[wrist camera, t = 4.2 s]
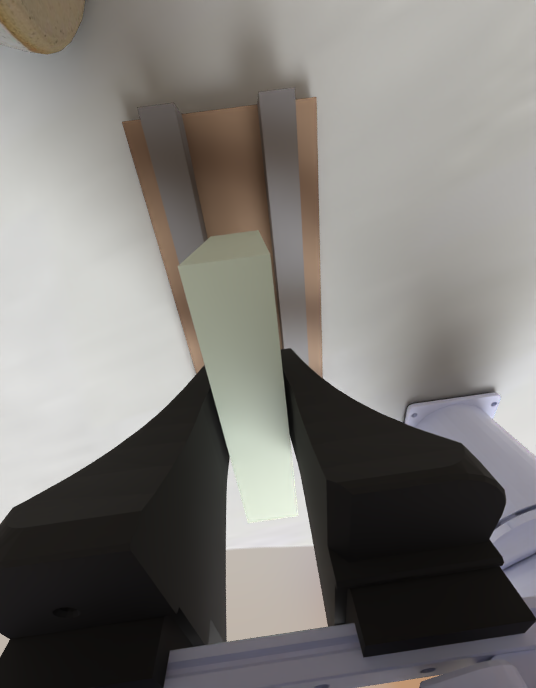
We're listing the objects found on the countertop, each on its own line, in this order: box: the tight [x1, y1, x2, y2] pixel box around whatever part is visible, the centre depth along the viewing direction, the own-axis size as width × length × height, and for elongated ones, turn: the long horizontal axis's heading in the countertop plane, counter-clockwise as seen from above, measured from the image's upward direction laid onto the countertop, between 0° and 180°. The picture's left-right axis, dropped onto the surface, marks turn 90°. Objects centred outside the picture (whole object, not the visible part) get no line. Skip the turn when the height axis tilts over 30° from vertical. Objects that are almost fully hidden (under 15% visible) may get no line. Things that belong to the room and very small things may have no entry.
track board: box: [122, 87, 323, 378], centre depth 17 cm, size 20×9×2 cm, turn 6°
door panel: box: [178, 230, 298, 523], centre depth 11 cm, size 10×2×6 cm, turn 6°
